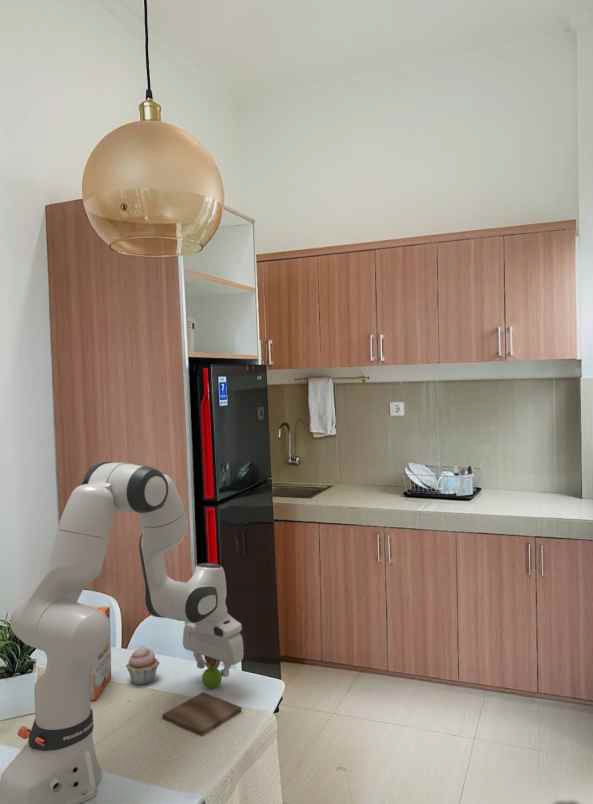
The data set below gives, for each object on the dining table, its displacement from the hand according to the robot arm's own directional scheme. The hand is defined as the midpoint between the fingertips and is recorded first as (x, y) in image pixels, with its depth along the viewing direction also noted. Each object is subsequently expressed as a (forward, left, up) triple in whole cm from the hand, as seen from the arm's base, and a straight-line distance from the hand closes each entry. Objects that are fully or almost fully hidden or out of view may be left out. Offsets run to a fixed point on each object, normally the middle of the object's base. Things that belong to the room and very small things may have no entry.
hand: (212, 671), depth 180 cm
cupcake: (-8, +20, -5) cm, 22 cm away
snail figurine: (0, 0, -5) cm, 5 cm away
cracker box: (-19, +27, -5) cm, 33 cm away
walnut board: (-12, -8, -5) cm, 15 cm away
